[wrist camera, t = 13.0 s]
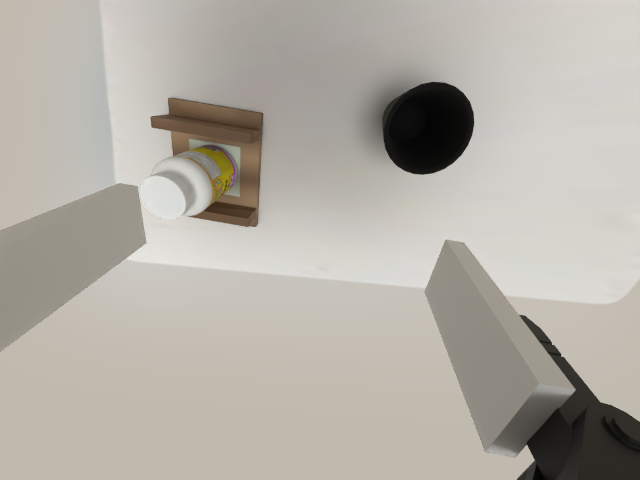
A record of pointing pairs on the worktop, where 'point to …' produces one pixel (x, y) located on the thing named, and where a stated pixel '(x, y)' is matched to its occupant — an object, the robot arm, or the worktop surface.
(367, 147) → the worktop surface
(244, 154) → the holder
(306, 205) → the worktop surface
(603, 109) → the worktop surface
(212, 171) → the supplement bottle
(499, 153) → the worktop surface
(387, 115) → the cup
